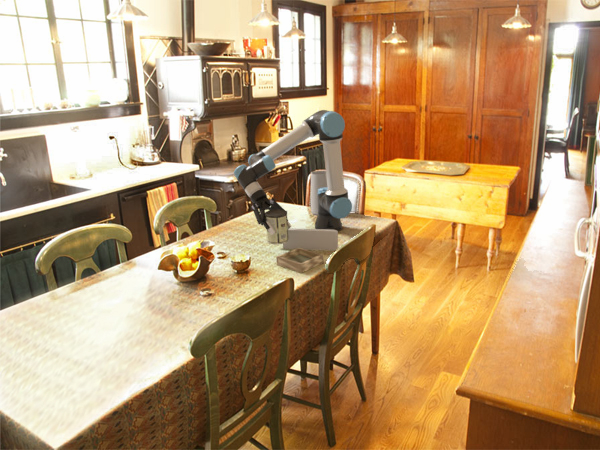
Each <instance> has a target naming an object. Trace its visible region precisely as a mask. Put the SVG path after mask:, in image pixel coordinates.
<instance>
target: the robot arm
mask: <svg viewBox="0 0 600 450" xmlns="http://www.w3.org/2000/svg"><path fill="white" fill-rule="evenodd" d="M345 126H346V123H345V120H344V118H343V116H342V115H341V114H340V113H338V112H337V111H333V110H325V109H321V110H318V111H317V112H314V113H313V114H312V115H310V116H308V117H307V118H305V119H304V120H302V123H301V124H300V125H299V126H297V127H296V128H293V129H292V130H291V131H289V132H288V133H286V134H285V135H283V136H282V137H280V138H279V139H276V141H274V142H273V143H271V144H269V145H268V146H267V147H265V148H263V149H261V150H259V151H258V152H257V153H253V154H251V155H250V156H249V157H248V160H247V162H248V165H246V164H241V165H238V166H237V167H236V168H235V169H234V170H233V175H234V176H235V177H234V178H235V179H236V180H237V182H238V183H239V185H240V186H241V188H242V189H243V191H244V192H245V194H246V195H247V196H248V197H249V198H250V201H251V202H252V206H251V207H250V209H251V210H252V211H253V214H254V217H255V219H256V221H257V224H258V225H260V226H263V227H264V229H266V231H267V230H268V231H269V232H270V234H271V235H272V236H273V235H274V234H275V230H274V229H273V228H272V226H271V225H270V223H269V222H268V221H267V222H266V216H265V212H266V211H270V210H276V209H280V210H285V209H284V208H283V207H282V206H281V205H280V204H279V203H278V202H277V200H276V199H275V197H274V198H271V199H269V197H268V196H267V193H266V192H265V190H264V189H263V187H262V186H261V185H260V184H259V182H258V180H260V178H262V177H264V176H265V175H266V174H268V173H270V172H272V171H273V170H274V169H275V168H276V162H275V160H276V159H278V158H280V157H281V156H283V155H284V154H286V153H287V152H289V151H291V150H292V149H294V148H295V147H297V146H298V145H300V144H302V142H305V141H306V140H308V139H309V138H314V137H316V136H317V135H318V138H319V141H320V142H321V143H322V147H323V156H324V166H325V171H326V178H327V187H324V188H320V189H318V194H317V195H318V215H316V216H317V217H316V220H315V223H314V229H330V230H337V231H338V232H340V231H341V230H342V229H343V223H342V220H341V219H344V218H347V217H348V216H349V215H350V213H351V212H352V210H353V203H352V201H351V199H349V191H348V189H347V188H346V187H345V182H344V181H345V180H344V168H343V160H342V158H343V157H342V149H341V142H342V140H343V132H344V130H345V128H346V127H345ZM287 223H288V229H290V228H292V225H291V223H290V221H289V219H288V218H287Z"/></svg>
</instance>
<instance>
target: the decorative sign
mask: <svg viewBox="0 0 600 450" xmlns="http://www.w3.org/2000/svg"><path fill="white" fill-rule="evenodd" d="M288 239H289V241H288V242H286V243H284V244H282V248H283V249H285V250H294V249H296V248H302V249H305V250H309V251H329V252H330V251H332V252H336V251H337V250H338V248H339V231H337V230H330V229H315V228H296V227H295V228H292V227H290V229H288ZM336 249H337V250H336Z"/></svg>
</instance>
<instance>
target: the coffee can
mask: <svg viewBox="0 0 600 450" xmlns="http://www.w3.org/2000/svg"><path fill="white" fill-rule="evenodd" d="M265 216H266V222H267V221H268V222H269V223H270V225H271V226H272V228H273V229H274V230H275V234H274V235H273V236H272V235H271V234H270V232H269V231H268V230H267V229H266V239H267V241H266V242H267V243H268V244H269V245H283V244H284V243H286V242H288V241H289V239H288V223H287V219H288V210H285V209H284V210H280V209H276V210H266V211H265Z"/></svg>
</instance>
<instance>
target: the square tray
mask: <svg viewBox="0 0 600 450" xmlns="http://www.w3.org/2000/svg"><path fill="white" fill-rule="evenodd" d="M275 257H276V258H275V259H276V266H280V267H283V268H285V269H288V270H291V271H294V272H297V273H300V272H301V274H303V273H305V272H306V271H309V270H311V269H313V268H316V267H317V266H321V265H322V264H323V263H324V254H322V253H319V252H315V251H313V250H305V249H302V248H296V249H290V250H289V251H287V252H284V253H283V254H282V253H281V254H280V255H276V256H275ZM304 271H305V272H304ZM302 272H303V273H302Z"/></svg>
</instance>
